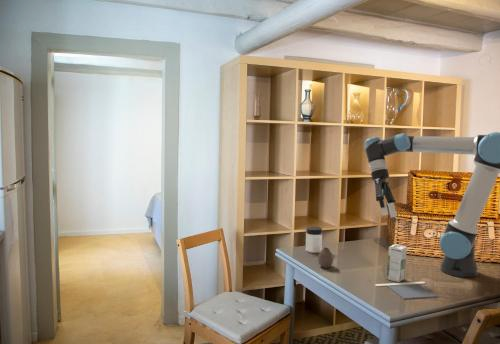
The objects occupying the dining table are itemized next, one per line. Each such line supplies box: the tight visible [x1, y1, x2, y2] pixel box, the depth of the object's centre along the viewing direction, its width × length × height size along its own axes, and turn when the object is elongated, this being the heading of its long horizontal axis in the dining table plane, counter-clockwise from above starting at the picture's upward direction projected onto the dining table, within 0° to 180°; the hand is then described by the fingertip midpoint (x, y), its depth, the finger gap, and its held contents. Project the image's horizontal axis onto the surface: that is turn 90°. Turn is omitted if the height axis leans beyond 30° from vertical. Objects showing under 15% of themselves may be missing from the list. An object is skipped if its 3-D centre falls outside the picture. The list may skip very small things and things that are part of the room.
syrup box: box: [386, 243, 408, 283], centre depth 173 cm, size 6×6×14 cm
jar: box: [305, 225, 323, 254], centre depth 213 cm, size 9×8×12 cm
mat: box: [386, 284, 438, 300], centre depth 160 cm, size 14×12×1 cm
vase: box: [317, 246, 334, 269], centre depth 188 cm, size 7×7×9 cm
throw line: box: [374, 281, 426, 287], centre depth 168 cm, size 22×2×1 cm, turn 101°
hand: (389, 216), depth 181 cm, fingers open, 13 cm apart
